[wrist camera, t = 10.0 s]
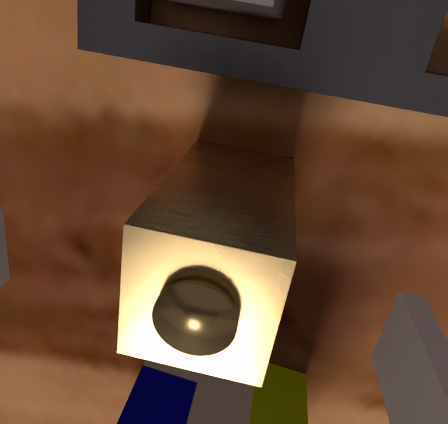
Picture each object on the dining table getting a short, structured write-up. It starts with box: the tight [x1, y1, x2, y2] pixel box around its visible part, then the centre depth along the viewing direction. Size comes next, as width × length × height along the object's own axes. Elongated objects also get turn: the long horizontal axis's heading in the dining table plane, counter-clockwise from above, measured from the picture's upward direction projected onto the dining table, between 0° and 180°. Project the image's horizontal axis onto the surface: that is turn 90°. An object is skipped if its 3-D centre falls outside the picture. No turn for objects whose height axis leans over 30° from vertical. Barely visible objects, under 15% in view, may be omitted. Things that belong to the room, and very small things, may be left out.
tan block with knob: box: [117, 140, 297, 387], centre depth 16 cm, size 5×5×10 cm
